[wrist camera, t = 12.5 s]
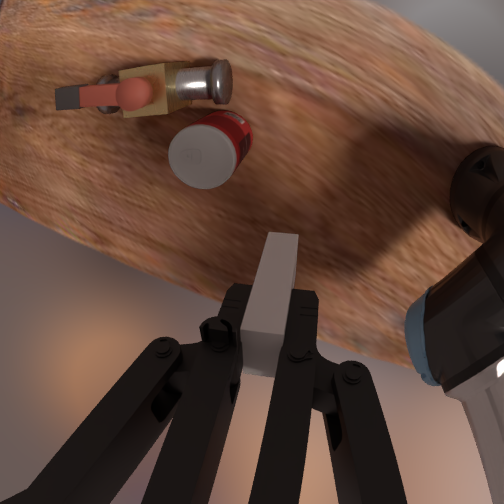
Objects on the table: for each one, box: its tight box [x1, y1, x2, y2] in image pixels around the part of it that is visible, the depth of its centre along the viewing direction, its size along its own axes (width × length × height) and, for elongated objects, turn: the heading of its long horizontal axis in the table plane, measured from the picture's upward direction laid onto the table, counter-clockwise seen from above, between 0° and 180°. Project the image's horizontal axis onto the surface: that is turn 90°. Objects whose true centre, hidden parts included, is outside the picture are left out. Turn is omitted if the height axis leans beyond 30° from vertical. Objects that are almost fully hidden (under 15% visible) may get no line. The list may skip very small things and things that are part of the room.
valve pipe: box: [96, 59, 233, 118], centre depth 36 cm, size 18×6×9 cm, turn 91°
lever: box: [55, 77, 153, 111], centre depth 32 cm, size 14×4×2 cm, turn 85°
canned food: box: [168, 111, 253, 189], centre depth 38 cm, size 8×8×11 cm
